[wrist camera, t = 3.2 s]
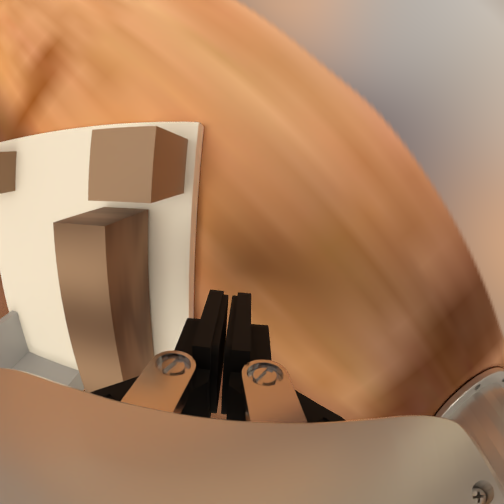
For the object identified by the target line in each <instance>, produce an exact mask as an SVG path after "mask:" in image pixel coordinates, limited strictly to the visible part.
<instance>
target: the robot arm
mask: <svg viewBox="0 0 504 504" xmlns="http://www.w3.org/2000/svg"><path fill="white" fill-rule="evenodd" d="M227 310H228V295H224V291H217V290H210V292H209V295H208V298H207V301H206V304H205V307H204V310H203V313H202V316H201V319H194V318H187V320H186V322H185V325H184V327H183V330H182V332H181V335H180V337H179V340H178V342H177V345H176V347H175V350H172V351H164V352H161V353H159V354H157V355H155V356H154V357H153V358H152V360H151V361H150V362H149V364H148V365H147V366H146V368H145V369H144V370H143V372H142V373H141V374H140V376H137V377H134V378H131V379H129V380H126V381H123V382H120V383H117V384H114V385H111V386H107V387H104V388H101V389H98V390H95V391H93V392H91V393H88V392H85V391H82V390H79V389H76V388H73V387H70V386H67V385H64V384H61V383H58V382H55V381H52V380H49V379H46V378H44V377H41V376H38V375H35V374H32V373H28V372H25V371H20V370H15V369H9V368H0V504H504V369H503V368H500V367H496V368H492V369H489V370H487V371H485V372H483V373H481V374H479V375H478V376H476V377H475V378H473V379H472V380H471V381H469V382H468V383H467V384H465V385H464V386H463V387H462V388H461V389H459V390H458V391H457V392H456V393H455V394H454V395H453V396H452V397H451V398H450V399H449V400H448V401H447V402H446V403H445V404H444V405H443V407H442V408H441V409H440V410H439V411H438V413H437V414H436V415H435V416H428V415H403V416H391V417H382V418H372V419H360V420H350V421H346V420H345V419H343V418H342V417H340V416H339V415H337V414H335V413H333V412H331V411H330V410H328V409H326V408H324V407H323V406H321V405H319V404H317V403H316V402H314V401H312V400H311V399H309V398H307V397H306V396H304V395H302V394H301V393H299V392H297V391H296V390H295V389H294V387H293V384H292V382H291V379H290V376H289V374H288V372H287V370H286V369H285V368H284V367H283V366H282V365H281V364H279V363H277V362H274V361H271V350H270V338H269V328H268V325H255V324H251V294H250V293H238V296H232V302H231V309H230V315H229V322H228V329H227V336H226V326H227ZM223 363H224V366H223ZM222 370H223V386H222V409H221V414H227V420H225V419H215V418H210V416H211V413H217V407H218V400H219V392H220V385H221V378H222Z"/></svg>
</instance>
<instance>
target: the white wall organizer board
mask: <svg viewBox="0 0 504 504" xmlns="http://www.w3.org/2000/svg"><path fill="white" fill-rule="evenodd" d="M203 132H204V126H203V125H202V124H201V123H199V122H144V123H125V124H112V125H100V126H91V127H82V128H74V129H67V130H60V131H54V132H48V133H42V134H36V135H31V136H26V137H22V138H17V139H13V140H8V141H4V142H0V272H1V278H2V283H3V288H4V293H5V297H6V301H7V306H8V310H9V313H8V314H7V315H5V316H4V317H2V318H1V319H0V368H9V369H15V370H20V371H25V372H28V373H32V374H35V375H38V376H41V377H44V378H46V379H49V380H52V381H55V382H58V383H61V384H64V385H67V386H70V387H73V388H76V389H79V390H82V391H83V390H84V386H83V383H82V380H81V376H80V373H79V370H78V367H77V363H76V360H75V356H74V353H73V349H72V345H71V341H70V337H69V333H68V328H67V324H66V319H65V314H64V309H63V304H62V298H61V292H60V286H59V279H58V272H57V264H56V254H55V243H54V229H53V222H56V221H59V220H62V219H65V218H69V217H72V216H75V215H78V214H82V213H85V212H88V211H92V210H95V209H99V208H102V207H115V208H134V209H149V210H148V272H149V297H150V314H151V327H152V339H153V349H154V356H155V355H157V354H159V353H161V352H164V351H172V350H175V347H176V345H177V342H178V340H179V337H180V335H181V332H182V330H183V327H184V325H185V322H186V320H187V318H194V269H195V242H196V222H197V205H198V190H199V177H200V164H201V153H202V142H203Z"/></svg>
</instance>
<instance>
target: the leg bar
mask: <svg viewBox="0 0 504 504" xmlns="http://www.w3.org/2000/svg"><path fill="white" fill-rule="evenodd" d="M148 210H149V209H134V208H115V207H102V208H99V209H95V210H92V211H88V212H85V213H82V214H78V215H75V216H72V217H69V218H65V219H62V220H59V221H56V222H53V229H54V243H55V254H56V264H57V272H58V279H59V286H60V292H61V298H62V304H63V309H64V314H65V319H66V324H67V328H68V333H69V337H70V341H71V345H72V349H73V353H74V356H75V360H76V363H77V367H78V370H79V373H80V376H81V380H82V383H83V386H84V389H85V392H88V393H91V392H93V391H95V390H98V389H101V388H104V387H107V386H111V385H114V384H117V383H120V382H123V381H126V380H129V379H131V378H134V377H137V376H140V374H141V373H142V372H143V370H144V369H145V368H146V366H147V365H148V364H149V362H150V361H151V360H152V358H153V357H154V349H153V339H152V327H151V314H150V297H149V272H148Z"/></svg>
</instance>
